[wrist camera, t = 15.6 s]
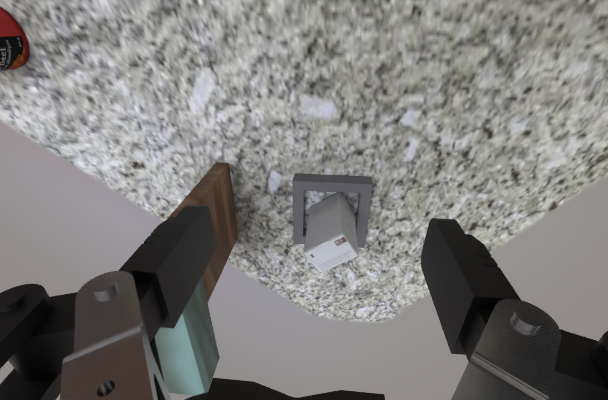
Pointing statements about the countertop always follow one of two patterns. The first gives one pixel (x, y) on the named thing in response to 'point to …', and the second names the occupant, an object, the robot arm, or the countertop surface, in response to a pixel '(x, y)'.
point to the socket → (331, 185)
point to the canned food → (11, 43)
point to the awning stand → (200, 293)
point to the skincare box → (331, 233)
